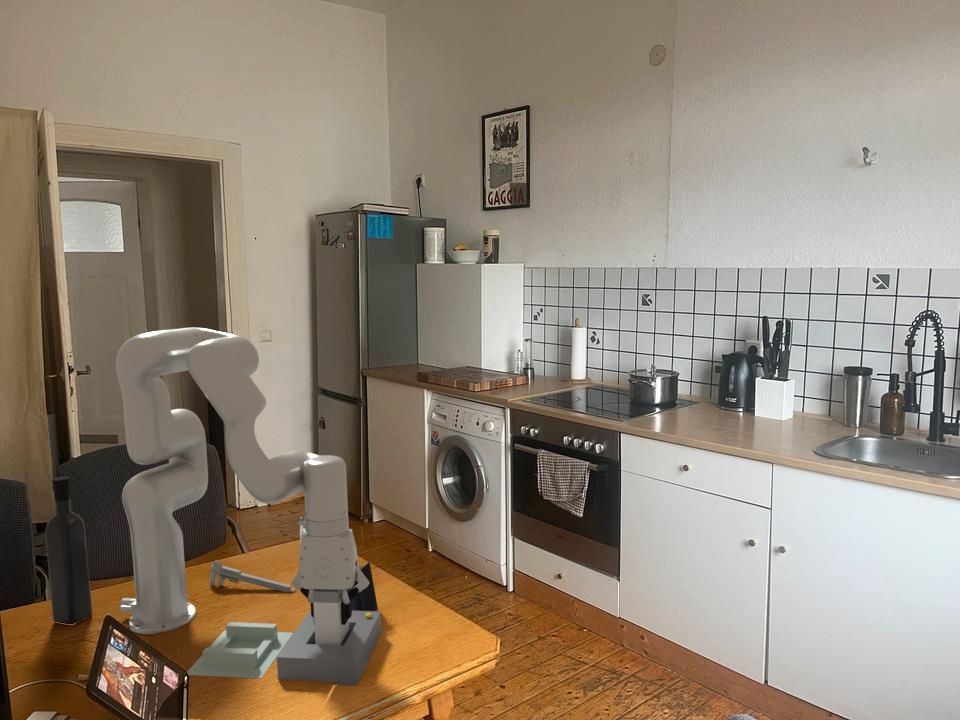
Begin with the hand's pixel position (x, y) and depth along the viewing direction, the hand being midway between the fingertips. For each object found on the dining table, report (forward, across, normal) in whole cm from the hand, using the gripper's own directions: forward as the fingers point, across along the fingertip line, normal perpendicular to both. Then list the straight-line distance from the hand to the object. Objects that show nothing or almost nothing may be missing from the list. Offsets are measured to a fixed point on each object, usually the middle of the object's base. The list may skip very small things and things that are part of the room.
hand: (331, 619), depth 135 cm
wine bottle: (+7, -58, +10) cm, 59 cm away
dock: (+7, 0, 0) cm, 7 cm away
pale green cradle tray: (+7, -17, -1) cm, 19 cm away
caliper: (+7, -27, +27) cm, 39 cm away
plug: (+3, 0, 0) cm, 3 cm away
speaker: (+7, 0, +18) cm, 19 cm away
